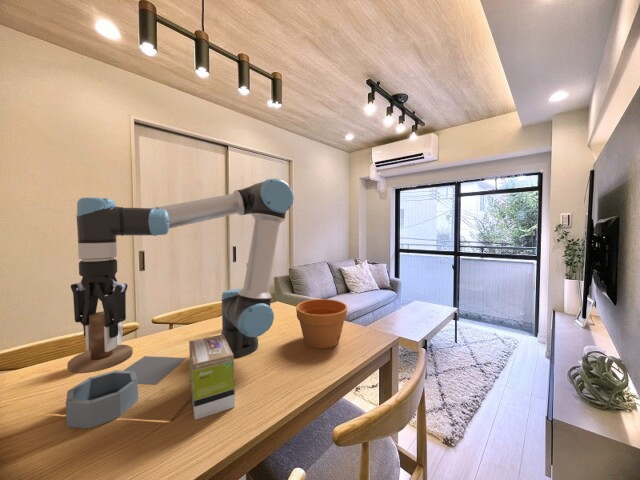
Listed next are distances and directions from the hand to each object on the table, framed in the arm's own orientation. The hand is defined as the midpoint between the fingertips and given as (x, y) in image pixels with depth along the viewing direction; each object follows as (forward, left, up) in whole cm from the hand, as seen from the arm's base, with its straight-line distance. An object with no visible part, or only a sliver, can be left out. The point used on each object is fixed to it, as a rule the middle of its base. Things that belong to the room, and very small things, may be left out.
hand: (101, 348), depth 69 cm
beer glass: (+19, -23, -16) cm, 34 cm away
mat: (+1, -18, -16) cm, 24 cm away
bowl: (0, 0, -16) cm, 16 cm away
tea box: (-26, -6, -16) cm, 31 cm away
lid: (0, 0, -3) cm, 3 cm away
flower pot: (-54, -45, -16) cm, 72 cm away
